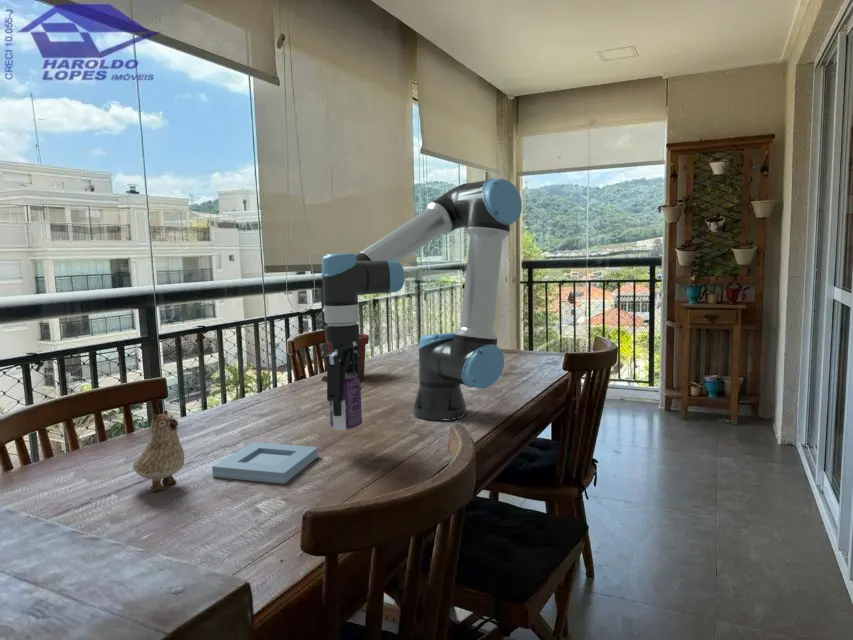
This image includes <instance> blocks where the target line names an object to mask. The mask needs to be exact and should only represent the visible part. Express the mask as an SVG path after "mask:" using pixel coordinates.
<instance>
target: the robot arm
mask: <svg viewBox="0 0 853 640" xmlns="http://www.w3.org/2000/svg"><path fill="white" fill-rule="evenodd" d="M522 208H523V205H522V197H521V194H520V192H519V191H518V190H517V187H516V185H514V183H512V182H511V181H510V180H508V179H504V178H488V179H486V180H482V181H481V180H480V181H475V182H474V181H473V182H466V183H462V184H460V185H459V184H458V185H457V186H455V187H454V188H452V189H450V190H448V191H446V192H445V193H443V194H442V195H440V196H439V197H437V198H436V199H434V200H433V201H431V202H429V203H427V205H426V208H425V210H424V211H423V212H421V213H419V214H417V215H416V216H414V217H413V218H412V219H410V220H408V221H407V222H405V223H404V224H402V225H401V226H399V227H397V228H396V229H394V230H392V231H391V232H389V233H388V234H386V235H384V236H383V237H382V238H380V239H378V240H377V241H375V242H374V243H372V244H371V245H369V246H367V247H366V248H364V249H363V250H361V251H360V252H358V253H357V254H355V253H353V252H352V253H327V254H325V255H324V256H322V260H321V275H320V276H321V279H322V295H323V309H322V312H323V314H324V323H326V325H325V326H324V336H325V337H324V338H325V342H326V341H327V342H329V343H332V345H333V346H332V354H331V355H330V354H326V355H325V361H326V371H327V372H326V376H327V382H326V388H327V389H326V400H327V402H329V401H332V409H333V428H332V429H333V430H334V431H335V430H337V431H338V430H339V431H347V430H346V412H345V400H343V393H344V382H345V372H347V373H350V372H355V373H357V374H358V378H359V380H360V388H361V389H362V385H361V384H362V382H361V379H360V368H359V356H358V351H359V346H358V345H353V342H355V341H358V340H359V334H360V325H359V324H358V322H359V321H360V315H359V313H360V312H359V296H365V295H377V294H378V295H379V294H388V295H389V294H392V293H397V292H399V291H401V290H402V288H403V286H404V285H405V280H406V279H405V278H406V277H405V270H404V267H403V265H402V264H401V263H400V262H401V261H404V259H406V258H407V257H408V256H411V254H413V253H414V252H416V251H418V250H419V249H421V248H422V247H424V246H425V245H427V244H428V243H430V242H431V241H432V240H434V239H435V238H437V237H439V236H440V235H443V236H444V235H448V234H450V233H451V232H453V231H455V230H457V229H462V228H464V229H465V231H466V233H467V235H468V236H469V243H468V252H467V262H466V270H465V271H466V272H465V277H464V278H465V281H464V289H463V296H462V297H463V298H462V299H463V300H462V305H461V306H462V308H461V314H460V316H461V317H460V325H459V328H457V330H456V331H454V332H443V333H433V334H425V335H422V336H421V337H420V339H419V343H418V345H419V346H418V367H419V368H418V370H419V372H418V375H419V376H418V377H419V382H418V383H419V385H418V390H417V393H416V396H415V399H414V403H413V407H412V410H413V412H412V414H413V416H415V417H416V418H418V417H419V419H422V420H426V419H430V420H429V421H437V420H443V419H453V418H458V417H461V416H463V415H465V414H466V415H467V404H466V401H465V398H464V397H465V396H464V395H463V391H462V389H461V385H463V386H465V387H466V386H467V387H468V388H471V389H472V388H475V389H476V388H477V389H487V388H489V387H491V386H492V385H494V384H495V382H496V381H498V380H499V379H500V377H501V375H502V373H503V371H504V366H505V355H504V353H502V352H503V351H502V349H501V348H499V347H498V336H497V335H496V334H495V332H494V320H495V314H496V313H495V311H496V304H497V303H496V302H497V292H498V285H499V277H500V276H499V275H500V268H501V258H502V250H503V240H504V239H505V238H507V236H509V235H510V231H511V225H513V224H514V223H516V222H517V221H518V219H519V218H520V216H521V213H522ZM466 415H465V416H466Z"/></svg>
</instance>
